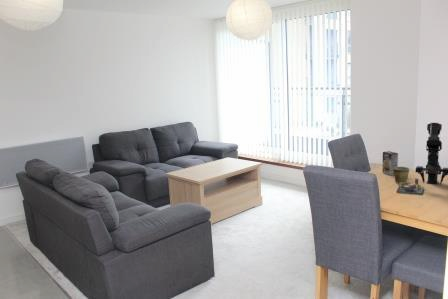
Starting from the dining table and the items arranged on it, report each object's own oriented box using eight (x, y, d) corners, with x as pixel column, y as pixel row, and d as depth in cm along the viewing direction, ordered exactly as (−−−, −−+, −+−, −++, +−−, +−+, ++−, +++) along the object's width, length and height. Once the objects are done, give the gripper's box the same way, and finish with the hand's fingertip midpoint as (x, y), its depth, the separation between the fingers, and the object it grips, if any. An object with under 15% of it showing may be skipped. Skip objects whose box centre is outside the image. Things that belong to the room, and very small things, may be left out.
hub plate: (399, 186, 254) (399, 182, 253) (423, 188, 246) (423, 184, 246) (396, 192, 242) (396, 187, 242) (421, 194, 235) (421, 190, 234)
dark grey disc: (409, 189, 240) (410, 181, 239) (401, 186, 246) (401, 179, 245) (421, 187, 242) (422, 179, 242) (413, 184, 249) (413, 177, 248)
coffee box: (382, 172, 291) (382, 151, 289) (389, 171, 293) (389, 150, 290) (390, 175, 283) (390, 153, 280) (397, 174, 285) (398, 152, 282)
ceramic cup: (410, 184, 257) (411, 170, 255) (394, 184, 259) (394, 170, 257) (405, 179, 270) (406, 165, 268) (390, 179, 272) (390, 165, 270)
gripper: (414, 160, 236) (414, 185, 239) (450, 162, 226) (449, 188, 229) (416, 157, 245) (416, 181, 248) (450, 158, 236) (449, 183, 238)
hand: (432, 183), depth 241 cm, fingers open, 9 cm apart
